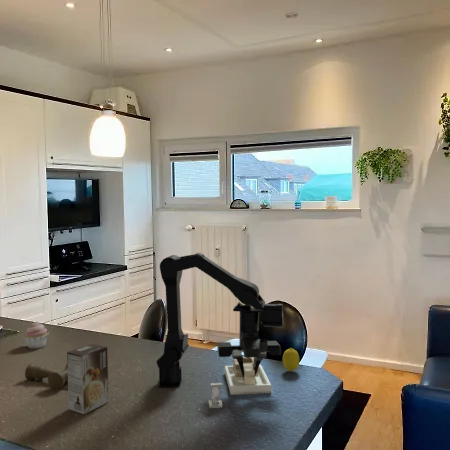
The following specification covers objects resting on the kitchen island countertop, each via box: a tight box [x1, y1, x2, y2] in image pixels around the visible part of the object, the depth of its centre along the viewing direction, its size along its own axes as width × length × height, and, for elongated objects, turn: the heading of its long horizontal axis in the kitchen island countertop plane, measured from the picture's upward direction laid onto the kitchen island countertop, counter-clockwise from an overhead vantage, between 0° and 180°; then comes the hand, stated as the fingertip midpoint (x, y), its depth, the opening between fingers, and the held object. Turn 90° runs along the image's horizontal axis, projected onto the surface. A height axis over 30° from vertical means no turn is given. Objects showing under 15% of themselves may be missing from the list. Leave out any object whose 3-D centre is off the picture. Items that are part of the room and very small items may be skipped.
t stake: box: [208, 382, 224, 409], centre depth 131 cm, size 4×4×6 cm
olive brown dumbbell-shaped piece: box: [24, 363, 68, 391], centre depth 147 cm, size 6×10×20 cm
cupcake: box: [23, 321, 50, 350], centre depth 183 cm, size 9×9×10 cm
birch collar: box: [232, 356, 258, 384], centre depth 147 cm, size 12×7×4 cm, turn 6°
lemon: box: [282, 347, 300, 373], centre depth 156 cm, size 6×6×8 cm
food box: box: [66, 343, 109, 415], centre depth 130 cm, size 9×6×16 cm
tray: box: [224, 364, 272, 396], centre depth 147 cm, size 17×12×2 cm
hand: (248, 376), depth 143 cm, fingers closed on birch collar, 3 cm apart
